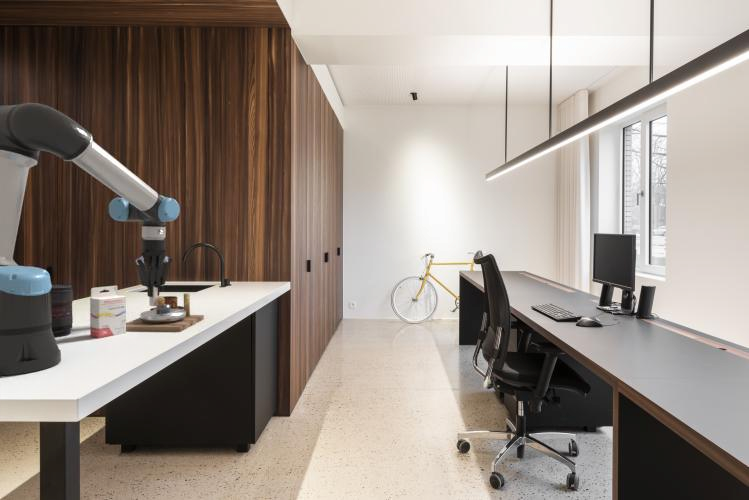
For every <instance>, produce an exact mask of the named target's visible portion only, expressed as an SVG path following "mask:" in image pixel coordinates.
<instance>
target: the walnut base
mask: <svg viewBox="0 0 749 500" xmlns="http://www.w3.org/2000/svg"><path fill="white" fill-rule="evenodd" d="M190 296H191V295H190V293H189V292H188V293H187V292H186V293H183V307H184V309H183V310H185V311H186V318H184V319H181V320H177V321H170V322H143V321H141V317H138V318H135V319H133V320H131V321H128V322H126V332H173V333H174V332H175V333H176V332H179V333H180V332H182V331H184V330H187V329H188V328H190V327H192V326H195V325H196V324H197V323H199V322H201V321H203V320H205V314H191V305H190V304H191V301H190V300H191V299H190Z"/></svg>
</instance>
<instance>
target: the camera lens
mask: <svg viewBox="0 0 749 500" xmlns="http://www.w3.org/2000/svg"><path fill="white" fill-rule="evenodd" d="M51 285H52V288H51V327H52V333H53V335H54V337H55V338H58V337H64V336H65V337H66V336H68V335H70V334H71V333H72V331H71V330H72V329H73V322H74V321H73V320H74V318H73V302H74V295H73V294H74V293H73V286H72V285H69V284H67V285H66V284H51Z"/></svg>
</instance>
